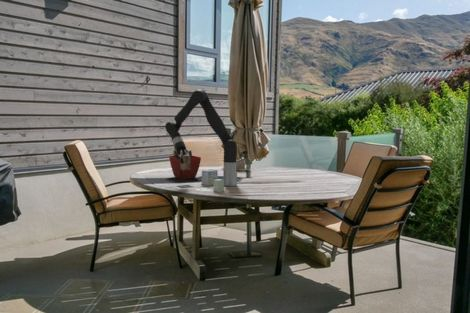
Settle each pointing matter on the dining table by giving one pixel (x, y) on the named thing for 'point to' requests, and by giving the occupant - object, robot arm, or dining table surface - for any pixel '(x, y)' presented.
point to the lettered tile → (203, 189)
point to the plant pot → (185, 173)
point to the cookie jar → (239, 165)
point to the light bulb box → (209, 176)
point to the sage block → (218, 185)
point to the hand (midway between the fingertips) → (186, 163)
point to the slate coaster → (184, 186)
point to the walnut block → (185, 162)
